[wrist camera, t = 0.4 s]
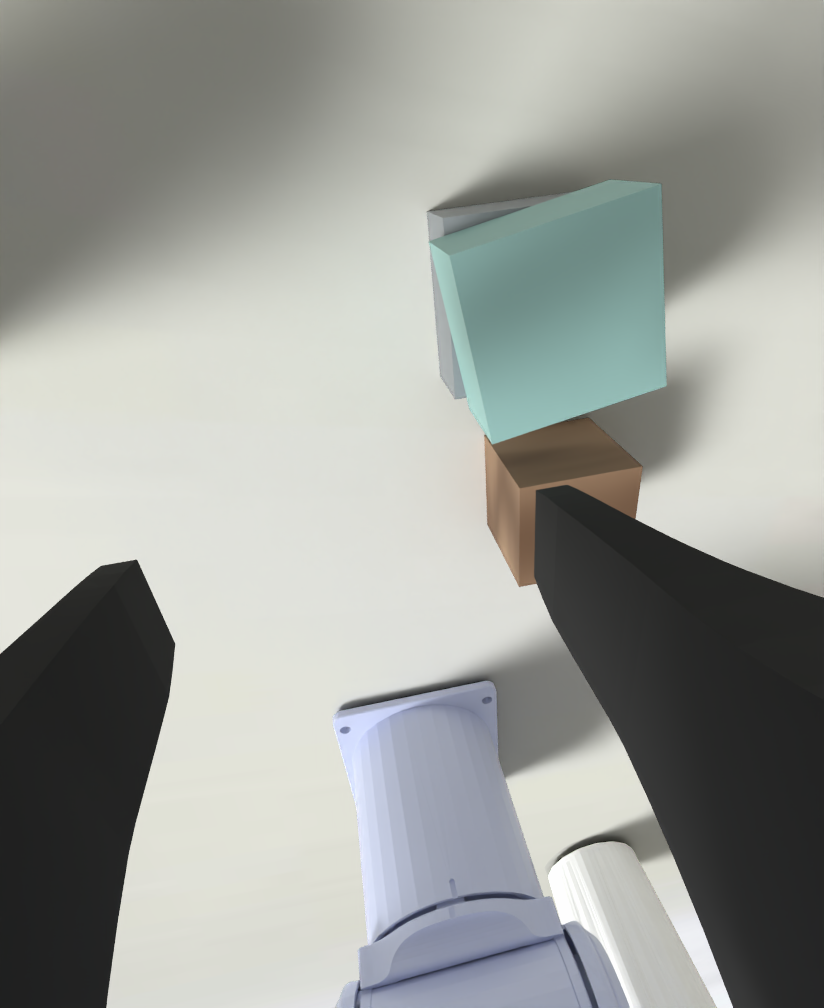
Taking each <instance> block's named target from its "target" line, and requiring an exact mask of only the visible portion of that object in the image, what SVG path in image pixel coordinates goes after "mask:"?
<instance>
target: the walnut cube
mask: <svg viewBox="0 0 824 1008" xmlns="http://www.w3.org/2000/svg"><path fill="white" fill-rule="evenodd" d="M484 438H485V467H486V495H487V524H488V526H489V528H490V530H491V532H492V534H493V536H494V538H495V540H496V542H497V544H498V546H499V548H500V550H501V552H502V554H503V556H504V558H505V560H506V562H507V564H508V566H509V568H510V570H511V572H512V574H513V576H514V577H515V579H516V581H517V583H518V585H519V587H521V586H527V585H532V584H537V583H536V580H535V578H534V551H535V504H536V490H539V489H545V488H551V487H557V486H562V485H570V486H572V487H574V488H576V489H578V490H580V491H582V492H584V493H586V494H588V495H590V496H592V497H594V498H596V499H598V500H600V501H602V502H604V503H605V504H607V505H609V506H611V507H613V508H615V509H617V510H619V511H621V512H622V513H624V514H626V515H628V516H630V517H632V518H634V519H635V518H636V511H637V504H638V496H639V489H640V482H641V475H642V468H643V466H642V465H641V464H639V463H638V462H637V461H636V460H635V459H634V458H633V457H632V456H631V455H630V454H628V453H627V452H626V451H625V450H624V449H623V448H622V447H621V446H620V445H618V444H617V443H616V442H615V441H614V440H613V439H612V438H611V437H610V436H609V435H607V434H606V433H605V432H604V431H603V430H602V429H601V428H600V427H599V426H597V425H596V424H595V423H594V422H593V421H592V420H591V419H590V418H583V419H577V420H571V421H565V422H559V423H555V424H552V425H549V426H546V427H543V428H540V429H537V430H534V431H531V432H528V433H525V434H522V435H519V436H516V437H513V438H510V439H507V440H504V441H501V442H498V443H495V444H492V443H491V442H490V440H489V438H488V437H487V435H484Z"/></svg>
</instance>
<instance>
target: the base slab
mask: <svg viewBox="0 0 824 1008" xmlns="http://www.w3.org/2000/svg"><path fill="white" fill-rule="evenodd" d="M574 192H575V191H574ZM569 193H572V192H567V193H560V194H552V195H545V196H537V197H530V198H523V199H515V200H508V201H501V202H493V203H486V204H478V205H471V206H464V207H456V208H449V209H441V210H434V211H427V219H428V231H429V241H431V240H434V239H437V238H440V237H443V236H446V235H448V234H451V233H454V232H457V231H460V230H463V229H466V228H469V227H472V226H475V225H478V224H481V223H484V222H487V221H490V220H493V219H495V218H498V217H501V216H504V215H507V214H510V213H513V212H516V211H519V210H522V209H525V208H528V207H531V206H534V205H537V204H539V203H542V202H545V201H548V200H551V199H554V198H557V197H560V196H563V195H566V194H569ZM430 256H431V268H432V281H433V293H434V306H435V318H436V331H437V343H438V356H439V368H440V377H441V378H442V380H443V381H444V383H445V384H446V386H447V387H448V389H449V391H450V392H451V394H452V395H453V397H454V398H455V399H460V398H466V392H465V388H464V384H463V380H462V376H461V372H460V368H459V364H458V360H457V356H456V352H455V347H454V343H453V339H452V335H451V331H450V327H449V323H448V319H447V315H446V311H445V306H444V302H443V298H442V294H441V290H440V286H439V282H438V278H437V274H436V270H435V266H434V261H433V257H432V253H431V249H430Z"/></svg>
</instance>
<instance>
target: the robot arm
mask: <svg viewBox="0 0 824 1008" xmlns="http://www.w3.org/2000/svg"><path fill="white" fill-rule="evenodd" d="M534 578H535V580H536V583H537V585H538V588H539V590H540V593H541V595H542V598H543V600H544V603H545V605H546V607H547V609H548V612H549V614H550V616H551V619H552V621H553V623H554V625H555V626H556V628H557V630H558V632H559V633H560V635H561V637H562V639H563V640H564V642H565V644H566V646H567V647H568V649H569V651H570V653H571V654H572V656H573V658H574V659H575V661H576V663H577V664H578V666H579V668H580V670H581V671H582V673H583V675H584V676H585V678H586V680H587V681H588V683H589V685H590V687H591V688H592V690H593V692H594V693H595V695H596V697H597V698H598V700H599V702H600V704H601V705H602V707H603V709H604V710H605V712H606V714H607V715H608V717H609V719H610V721H611V722H612V724H613V726H614V728H615V730H616V732H617V734H618V736H619V737H620V739H621V741H622V743H623V745H624V747H625V749H626V751H627V754H628V756H629V758H630V760H631V762H632V765H633V767H634V769H635V771H636V773H637V775H638V778H639V780H640V782H641V784H642V786H643V788H644V791H645V793H646V795H647V797H648V799H649V802H650V804H651V806H652V809H653V811H654V813H655V815H656V818H657V820H658V822H659V825H660V827H661V829H662V832H663V834H664V836H665V838H666V841H667V843H668V845H669V848H670V850H671V852H672V855H673V857H674V859H675V862H676V864H677V866H678V869H679V871H680V874H681V876H682V879H683V881H684V884H685V886H686V888H687V891H688V893H689V896H690V898H691V901H692V903H693V906H694V908H695V910H696V913H697V915H698V918H699V920H700V923H701V925H702V928H703V930H704V932H705V935H706V938H707V940H708V943H709V946H710V948H711V951H712V953H713V956H714V959H715V961H716V964H717V966H718V969H719V972H720V974H721V977H722V979H723V982H724V985H725V987H726V990H727V992H728V995H729V998H730V1000H731V1003H732V1005H733V1008H824V598H823V597H820V596H816V595H813V594H810V593H807V592H804V591H801V590H798V589H795V588H792V587H790V586H787V585H784V584H781V583H779V582H776V581H773V580H771V579H768V578H765V577H762V576H760V575H757V574H754V573H752V572H749V571H746V570H744V569H741V568H739V567H736V566H734V565H731V564H729V563H727V562H724V561H722V560H720V559H717V558H715V557H713V556H711V555H708V554H706V553H704V552H702V551H699V550H697V549H695V548H693V547H690V546H688V545H686V544H684V543H682V542H680V541H678V540H676V539H674V538H671V537H669V536H667V535H665V534H663V533H661V532H659V531H657V530H655V529H653V528H651V527H649V526H647V525H645V524H643V523H642V522H640V521H638V520H636V519H634V518H632V517H630V516H628V515H626V514H624V513H622V512H621V511H619V510H617V509H615V508H613V507H611V506H609V505H607V504H605V503H604V502H602V501H600V500H598V499H596V498H594V497H592V496H590V495H588V494H586V493H584V492H582V491H580V490H578V489H576V488H574V487H572V486H570V485H562V486H557V487H551V488H545V489H539V490H536V504H535V551H534ZM174 650H175V642H174V640H173V638H172V636H171V634H170V631H169V629H168V627H167V625H166V623H165V620H164V618H163V616H162V614H161V612H160V609H159V607H158V605H157V603H156V601H155V598H154V596H153V594H152V592H151V590H150V587H149V585H148V583H147V581H146V579H145V576H144V574H143V572H142V570H141V568H140V565H139V563H138V561H137V560H132V561H127V562H121V563H115V564H109V565H104V566H100V567H99V568H98V569H96V570H95V571H94V572H92V573H91V574H90V575H89V576H87V577H86V578H85V579H84V580H83V581H81V582H80V583H79V584H78V585H77V586H76V587H75V588H73V589H72V590H71V591H70V592H69V593H68V594H67V595H66V596H64V597H63V598H62V599H61V600H60V601H59V602H58V603H57V604H56V605H54V606H53V607H52V608H51V609H50V610H49V611H48V612H47V613H46V614H45V615H43V616H42V617H41V618H40V619H39V620H38V621H37V622H36V623H34V624H33V625H32V626H31V627H30V628H29V629H28V630H27V631H26V632H24V633H23V634H22V635H21V636H20V637H19V638H18V639H17V640H15V641H14V642H13V643H12V644H11V645H10V646H9V647H8V648H7V649H5V650H4V651H3V652H2V653H1V654H0V1008H106V1005H107V996H108V988H109V981H110V974H111V966H112V959H113V952H114V944H115V937H116V930H117V923H118V916H119V910H120V904H121V898H122V891H123V885H124V879H125V873H126V867H127V861H128V855H129V850H130V845H131V841H132V836H133V832H134V828H135V823H136V819H137V816H138V812H139V808H140V805H141V801H142V797H143V793H144V790H145V786H146V782H147V778H148V775H149V771H150V767H151V764H152V760H153V756H154V753H155V749H156V745H157V741H158V738H159V734H160V730H161V726H162V722H163V718H164V714H165V711H166V707H167V703H168V698H169V693H170V685H171V678H172V670H173V660H174ZM333 726H334V730H335V733H336V737H337V740H338V744H339V747H340V751H341V754H342V758H343V762H344V765H345V769H346V772H347V776H348V779H349V783H350V786H351V790H352V793H353V797H354V800H355V804H356V808H357V820H358V832H359V844H360V856H361V868H362V879H363V891H364V903H365V915H366V927H367V939H368V945H367V946H364V947H361V948H359V949H358V960H359V974H360V980H358V981H352V982H349V983H347V984H346V985H345V986H344V988H343V990H342V992H341V995H340V999H339V1000H338V1002H337V1004H336V1006H335V1008H630V1006H629V1003H628V1001H627V998H626V996H625V993H624V991H623V988H622V986H621V983H620V981H619V979H618V976H617V974H616V972H615V970H614V967H613V965H612V963H611V961H610V959H609V957H608V955H607V953H606V951H605V949H604V948H603V946H602V944H601V943H600V941H599V940H598V939H597V938H596V937H595V936H594V935H593V934H591V933H590V932H589V931H587V930H586V929H584V928H583V926H582V925H581V924H580V923H579V922H577V921H570V922H568V923H565V924H563V925H561V923H560V920H559V917H558V914H557V911H556V908H555V905H554V902H553V899H552V897H550V896H548V897H544V896H543V893H542V890H541V887H540V884H539V881H538V878H537V875H536V872H535V869H534V866H533V863H532V860H531V857H530V853H529V850H528V847H527V844H526V841H525V838H524V835H523V832H522V829H521V826H520V823H519V820H518V817H517V814H516V811H515V808H514V805H513V802H512V798H511V795H510V792H509V789H508V786H507V783H506V780H505V777H504V774H503V771H502V768H501V765H500V762H499V759H498V727H497V694H496V688H495V685H494V683H493V682H491V681H482V682H477V683H472V684H467V685H463V686H458V687H453V688H448V689H443V690H438V691H434V692H429V693H424V694H419V695H414V696H409V697H405V698H400V699H395V700H390V701H385V702H380V703H376V704H371V705H366V706H361V707H356V708H351V709H347V710H342V711H339V712H337V713H336V714H334V716H333Z"/></svg>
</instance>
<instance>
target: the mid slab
mask: <svg viewBox="0 0 824 1008" xmlns="http://www.w3.org/2000/svg"><path fill="white" fill-rule="evenodd" d="M429 245H430V249H431V253H432V257H433V261H434V266H435V270H436V274H437V278H438V282H439V286H440V290H441V294H442V298H443V302H444V306H445V311H446V315H447V319H448V323H449V327H450V331H451V335H452V339H453V343H454V347H455V352H456V356H457V360H458V364H459V368H460V372H461V376H462V380H463V384H464V388H465V392H466V397H467V401H468V405H469V409H470V411H471V412H472V414H473V415H474V417H475V419H476V420H477V422H478V423H479V425H480V426H481V428H482V429H483V431H484V432H485V434H486V435H487V437H488V438H489V440H490V442H491V443H492V444H495V443H498V442H501V441H504V440H507V439H510V438H513V437H516V436H519V435H522V434H525V433H528V432H531V431H534V430H537V429H540V428H543V427H546V426H549V425H552V424H555V423H558V422H561V421H564V420H567V419H570V418H573V417H576V416H579V415H582V414H585V413H588V412H591V411H594V410H597V409H600V408H603V407H606V406H609V405H612V404H615V403H618V402H621V401H624V400H627V399H630V398H633V397H636V396H639V395H642V394H645V393H648V392H651V391H654V390H657V389H659V388H662V387H665V386H667V383H666V344H665V304H664V264H663V224H662V184H659V183H647V182H635V181H623V180H611V179H610V180H607V181H604V182H601V183H598V184H595V185H592V186H589V187H586V188H583V189H581V190H578V191H575V192H572V193H569V194H566V195H563V196H560V197H557V198H554V199H551V200H548V201H545V202H542V203H539V204H537V205H534V206H531V207H528V208H525V209H522V210H519V211H516V212H513V213H510V214H507V215H504V216H501V217H498V218H495V219H493V220H490V221H487V222H484V223H481V224H478V225H475V226H472V227H469V228H466V229H463V230H460V231H457V232H454V233H451V234H448V235H446V236H443V237H440V238H437V239H434V240H431V241H429Z"/></svg>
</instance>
